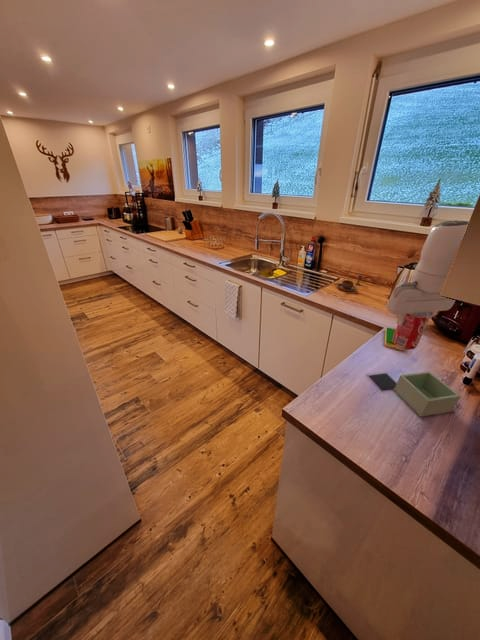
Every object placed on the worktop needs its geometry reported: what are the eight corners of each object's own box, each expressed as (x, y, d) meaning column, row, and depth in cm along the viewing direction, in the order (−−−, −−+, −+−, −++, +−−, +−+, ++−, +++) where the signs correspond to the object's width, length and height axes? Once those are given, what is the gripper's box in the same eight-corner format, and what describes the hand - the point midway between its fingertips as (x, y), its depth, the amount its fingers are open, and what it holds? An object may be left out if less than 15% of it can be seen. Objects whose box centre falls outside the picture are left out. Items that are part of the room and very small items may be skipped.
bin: (422, 385, 92) (429, 371, 89) (451, 411, 82) (461, 396, 79) (393, 389, 90) (400, 375, 87) (420, 416, 80) (428, 401, 77)
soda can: (414, 342, 86) (428, 310, 80) (417, 354, 81) (432, 320, 75) (390, 337, 89) (402, 305, 83) (391, 348, 83) (404, 314, 77)
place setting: (331, 284, 178) (333, 276, 175) (358, 283, 181) (360, 275, 178) (344, 294, 163) (347, 285, 160) (373, 293, 166) (376, 284, 163)
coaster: (385, 374, 97) (386, 373, 97) (399, 387, 91) (399, 386, 91) (369, 376, 96) (369, 375, 96) (381, 389, 90) (382, 389, 90)
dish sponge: (402, 335, 122) (404, 331, 121) (403, 350, 111) (405, 346, 110) (385, 331, 125) (387, 327, 123) (384, 345, 114) (386, 341, 113)
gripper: (406, 286, 69) (389, 331, 76) (468, 283, 73) (448, 326, 80) (389, 278, 75) (375, 320, 81) (448, 276, 79) (431, 316, 85)
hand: (412, 323), depth 81 cm, fingers closed on soda can, 7 cm apart
